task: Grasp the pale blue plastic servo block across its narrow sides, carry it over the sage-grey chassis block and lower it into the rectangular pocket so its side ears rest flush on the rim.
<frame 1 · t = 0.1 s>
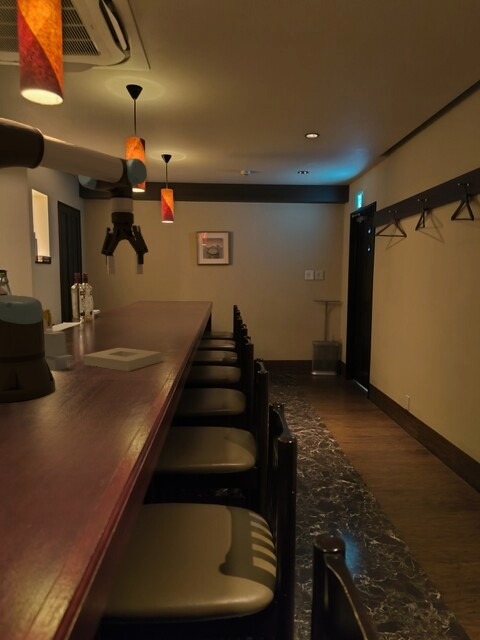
hand: (125, 274, 148), 28 cm above the bar counter, fingers open, 13 cm apart
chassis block: (123, 363, 135), on the bar counter
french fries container: (45, 356, 148), on the bar counter
servo: (54, 368, 128), on the bar counter
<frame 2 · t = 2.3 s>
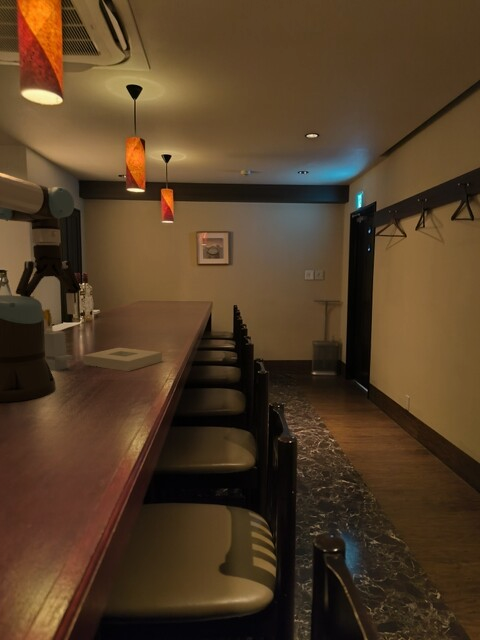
hand: (52, 316, 127), 16 cm above the bar counter, fingers open, 13 cm apart
nothing on the bar counter moved.
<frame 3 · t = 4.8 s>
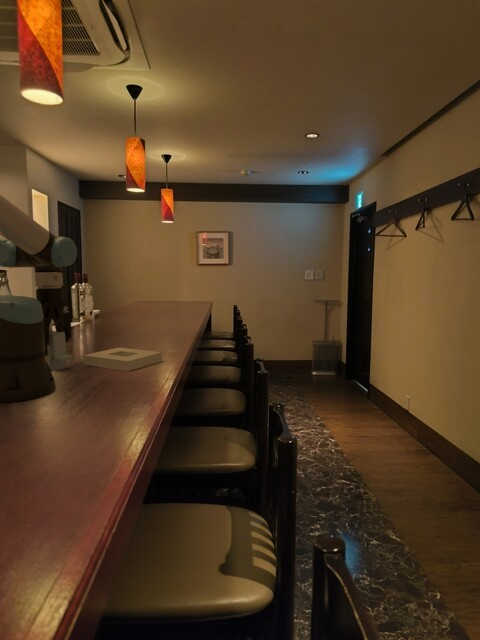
hand: (54, 364, 128), 1 cm above the bar counter, fingers closed on servo, 4 cm apart
servo: (54, 368, 128), on the bar counter, touching gripper
everything else where it was.
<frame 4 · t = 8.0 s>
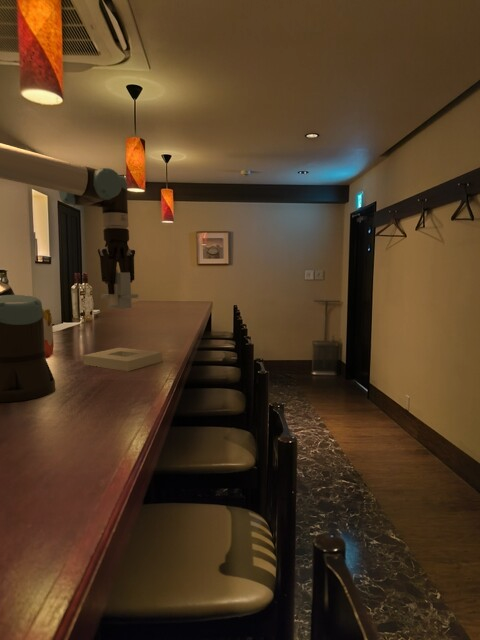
hand: (119, 304, 132), 19 cm above the bar counter, fingers closed on servo, 4 cm apart
servo: (119, 307, 133), point 18 cm above the bar counter, touching gripper
everything else where it was.
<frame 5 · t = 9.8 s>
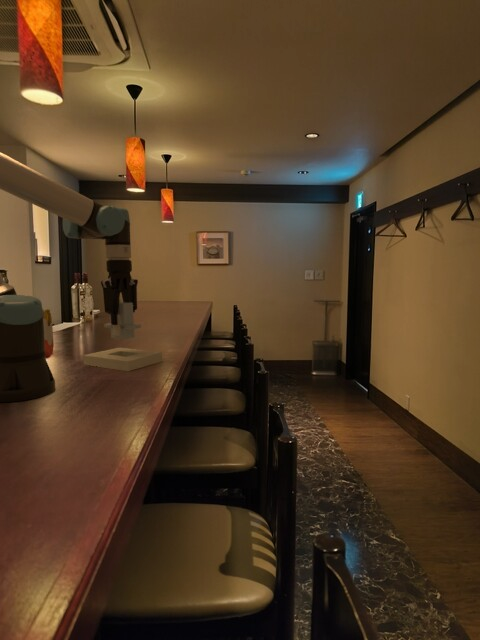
hand: (122, 333, 134), 9 cm above the bar counter, fingers closed on servo, 4 cm apart
servo: (122, 337, 134), point 8 cm above the bar counter, touching gripper
everything else where it was.
when the fingers open (4 cm above the bar counter, at t = 11.5 s): servo drops 2 cm, resting in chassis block.
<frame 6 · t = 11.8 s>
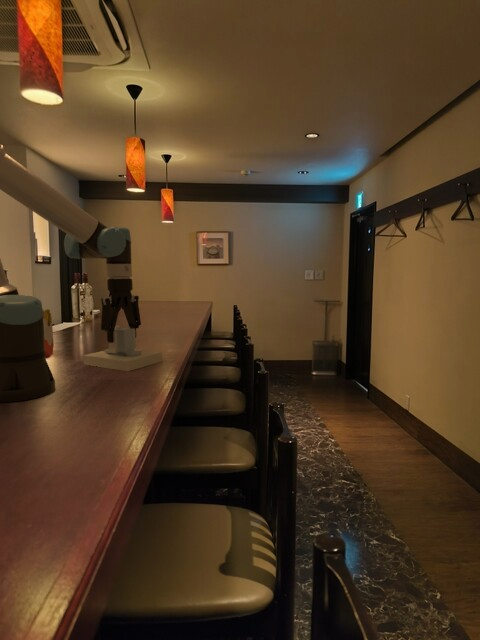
hand: (122, 350, 134), 4 cm above the bar counter, fingers open, 7 cm apart
servo: (123, 363, 135), resting in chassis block
everything else where it was.
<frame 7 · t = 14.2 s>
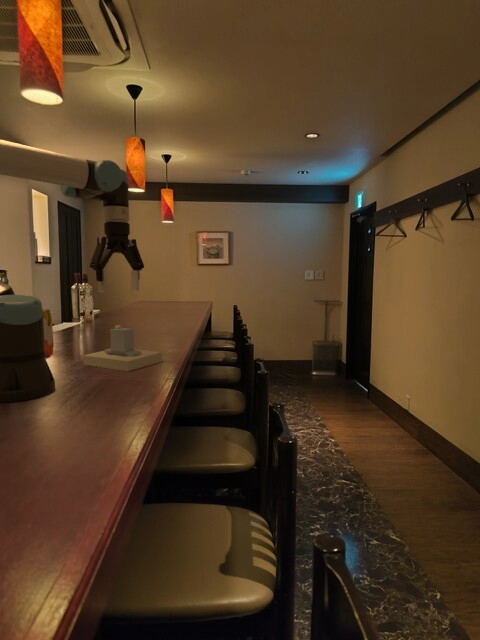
hand: (119, 291, 132), 23 cm above the bar counter, fingers open, 13 cm apart
nothing on the bar counter moved.
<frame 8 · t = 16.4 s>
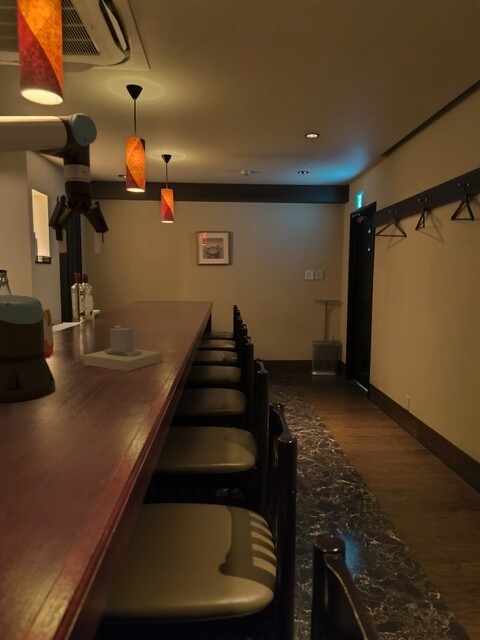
hand: (81, 253, 130), 35 cm above the bar counter, fingers open, 13 cm apart
nothing on the bar counter moved.
at the end: servo 0.1 cm off-centre on the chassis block, point 0.0 cm above the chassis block's base; servo tilted 0°; the gripper is holding nothing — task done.
